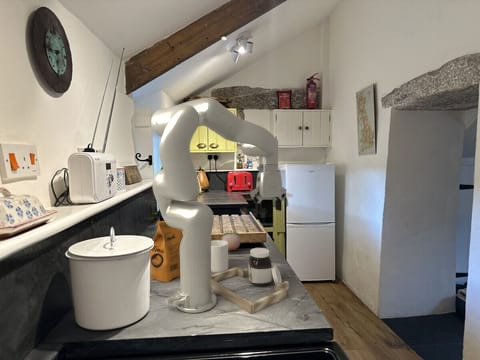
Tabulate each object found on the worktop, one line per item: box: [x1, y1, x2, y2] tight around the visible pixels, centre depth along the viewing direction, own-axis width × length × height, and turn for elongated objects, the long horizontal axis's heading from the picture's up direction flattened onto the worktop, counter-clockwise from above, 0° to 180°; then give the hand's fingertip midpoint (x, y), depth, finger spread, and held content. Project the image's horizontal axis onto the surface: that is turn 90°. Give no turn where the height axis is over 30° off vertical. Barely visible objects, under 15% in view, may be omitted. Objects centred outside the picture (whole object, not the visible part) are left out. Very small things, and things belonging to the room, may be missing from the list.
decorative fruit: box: [221, 230, 242, 252], centre depth 138 cm, size 9×8×10 cm
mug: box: [211, 239, 229, 274], centre depth 118 cm, size 9×12×11 cm
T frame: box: [211, 266, 290, 315], centre depth 99 cm, size 20×25×2 cm
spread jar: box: [247, 247, 283, 287], centre depth 103 cm, size 12×11×12 cm
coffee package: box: [149, 220, 184, 283], centre depth 109 cm, size 10×12×22 cm
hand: (268, 211), depth 116 cm, fingers open, 9 cm apart
